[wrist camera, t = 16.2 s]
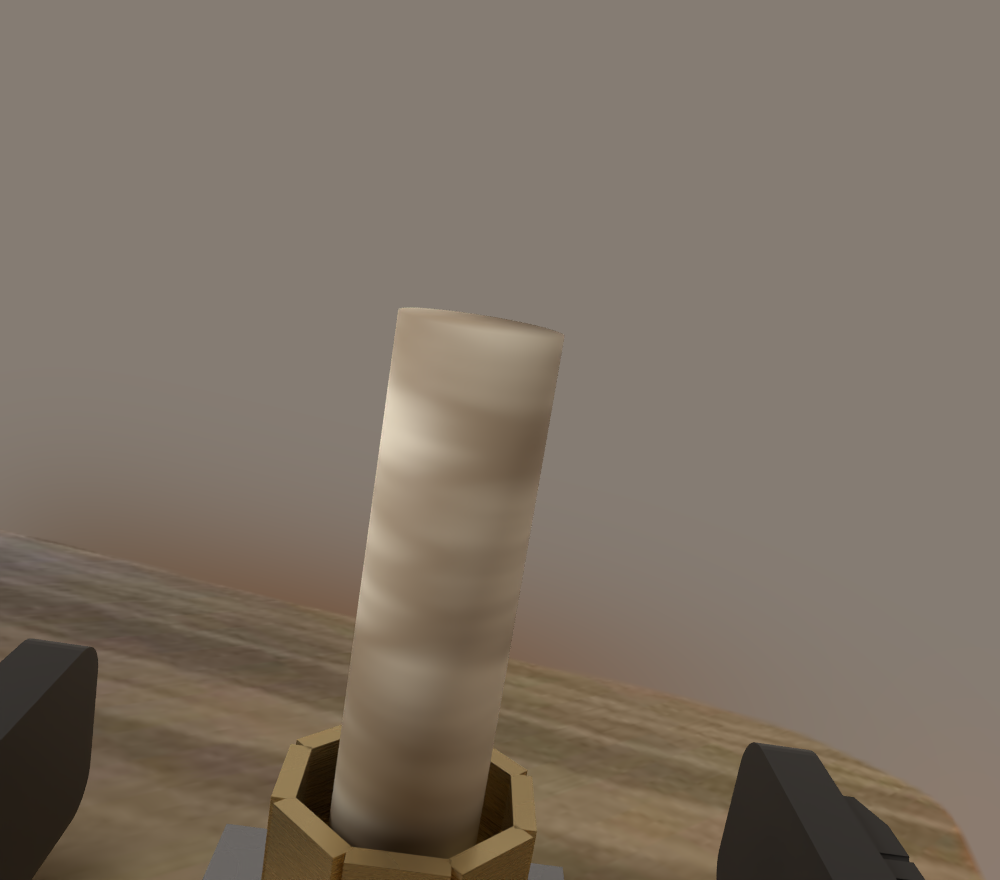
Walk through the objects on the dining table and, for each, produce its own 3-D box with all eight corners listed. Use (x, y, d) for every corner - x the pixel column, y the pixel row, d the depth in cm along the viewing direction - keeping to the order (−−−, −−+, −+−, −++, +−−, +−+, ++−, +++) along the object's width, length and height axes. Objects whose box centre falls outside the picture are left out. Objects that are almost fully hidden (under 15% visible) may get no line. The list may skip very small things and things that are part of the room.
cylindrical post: (287, 907, 25) (363, 306, 22) (376, 835, 29) (454, 308, 25) (411, 981, 23) (516, 339, 20) (490, 895, 27) (590, 336, 23)
